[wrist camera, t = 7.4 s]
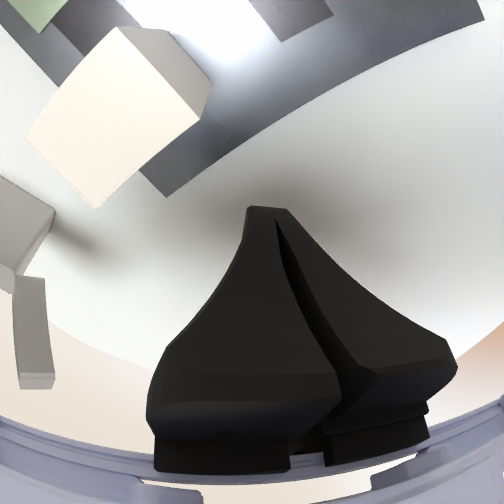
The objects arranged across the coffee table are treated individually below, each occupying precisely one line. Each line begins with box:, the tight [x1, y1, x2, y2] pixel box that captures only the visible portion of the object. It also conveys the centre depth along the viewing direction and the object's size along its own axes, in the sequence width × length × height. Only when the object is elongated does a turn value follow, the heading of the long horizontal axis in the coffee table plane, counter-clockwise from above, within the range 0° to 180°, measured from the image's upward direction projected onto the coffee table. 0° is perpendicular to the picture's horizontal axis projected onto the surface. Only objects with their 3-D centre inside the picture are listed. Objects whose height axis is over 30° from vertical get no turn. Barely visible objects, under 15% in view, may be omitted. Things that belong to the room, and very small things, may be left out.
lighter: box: [0, 175, 55, 389], centre depth 9 cm, size 7×2×8 cm, turn 50°
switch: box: [23, 27, 213, 209], centre depth 6 cm, size 2×3×4 cm
